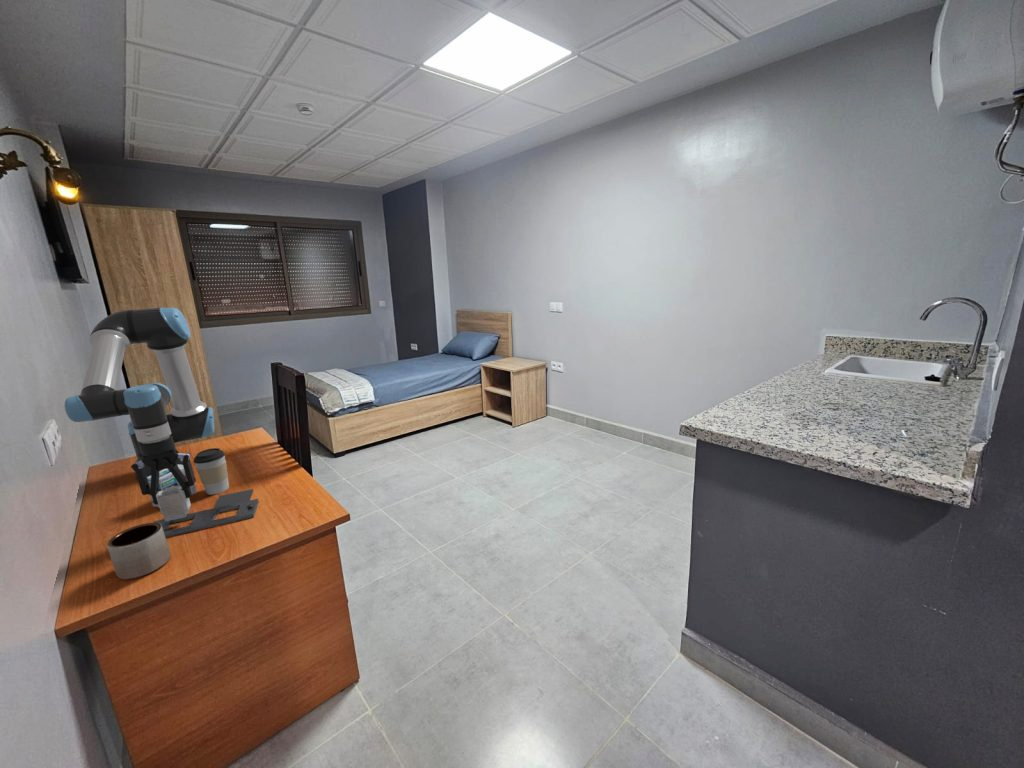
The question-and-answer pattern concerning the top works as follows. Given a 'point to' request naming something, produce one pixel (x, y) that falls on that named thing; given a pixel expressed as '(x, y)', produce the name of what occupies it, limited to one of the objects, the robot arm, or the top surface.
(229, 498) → the rubber mat
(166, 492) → the grey square block
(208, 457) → the coffee cup
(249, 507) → the rack rail
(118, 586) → the top surface
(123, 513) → the top surface
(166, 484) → the light bulb box
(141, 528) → the planter
